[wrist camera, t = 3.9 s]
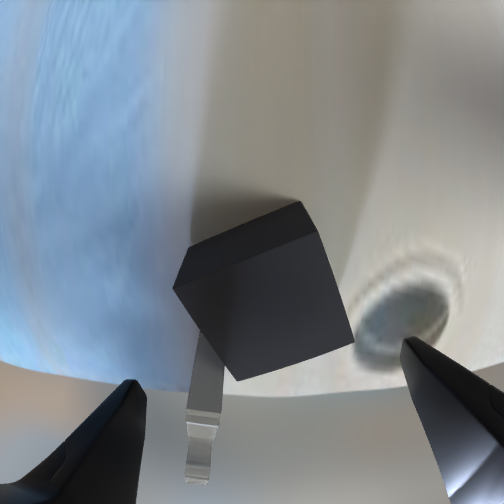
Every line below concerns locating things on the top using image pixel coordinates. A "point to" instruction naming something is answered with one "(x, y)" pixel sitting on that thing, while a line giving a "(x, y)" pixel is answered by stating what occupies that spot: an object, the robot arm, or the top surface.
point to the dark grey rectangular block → (264, 294)
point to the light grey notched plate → (203, 411)
